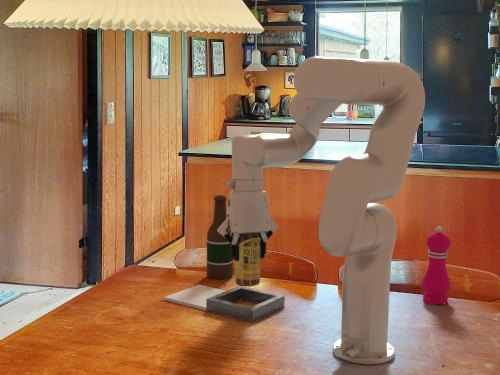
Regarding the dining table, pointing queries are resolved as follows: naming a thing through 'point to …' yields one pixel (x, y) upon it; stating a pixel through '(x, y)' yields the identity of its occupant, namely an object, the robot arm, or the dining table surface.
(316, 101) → the robot arm
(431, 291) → the pepper mill
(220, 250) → the beer bottle
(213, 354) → the dining table surface
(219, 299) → the collar
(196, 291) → the plate
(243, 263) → the sauce bottle
